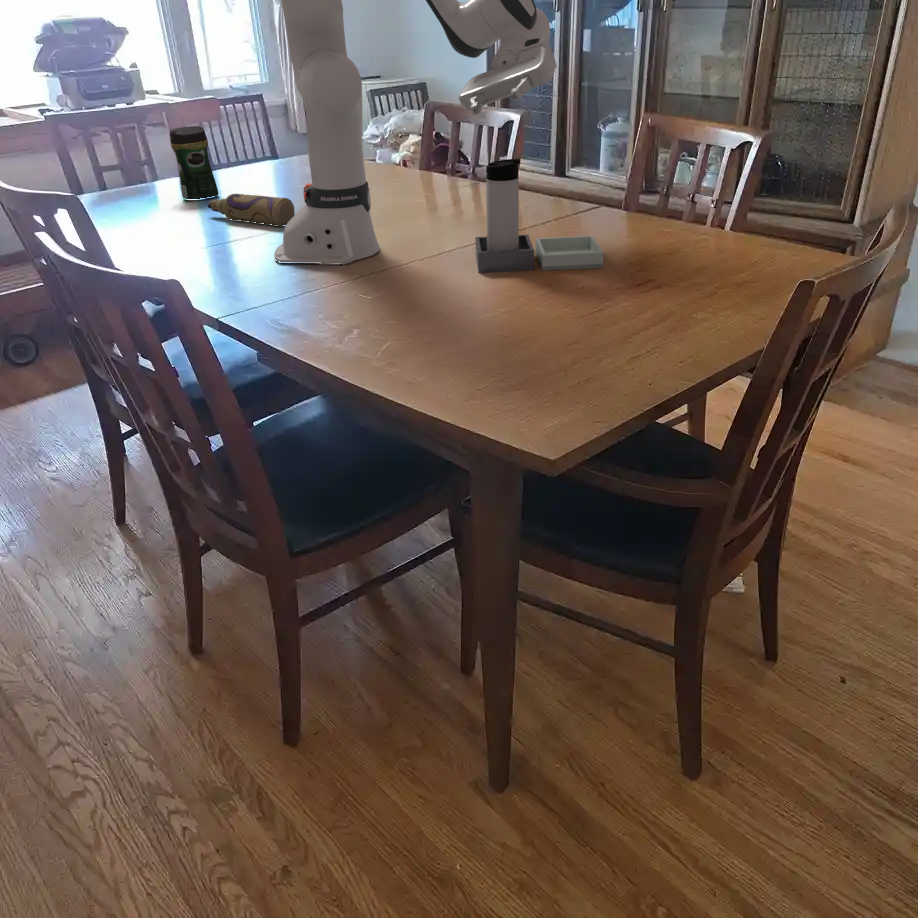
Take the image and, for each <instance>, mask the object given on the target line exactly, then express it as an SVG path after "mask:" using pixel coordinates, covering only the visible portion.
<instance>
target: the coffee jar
mask: <svg viewBox="0 0 918 918" xmlns="http://www.w3.org/2000/svg"><path fill="white" fill-rule="evenodd" d="M169 137H170V138H169V139H170V147H171V148H172V150H173V152H174V155H175V157H176V161H177V167H178V175H179V182H180V191H181V196H182V198H183V199H184V198H185V199H200V198H207V197H212V196H216V197H218V196H219V194H220V193H219V190H218V186H217V182H216V178H215V175H214V173H213V170H212V166H211V163H210V159H209V153H208V146H209V140H208V137H207V134H206V132H205V130H204V127H202V126H200V125H190V126H182V127H181V126H180V127H177V128H172V129H169ZM217 195H218V196H217ZM185 199H184V200H185Z"/></svg>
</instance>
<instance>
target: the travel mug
mask: <svg viewBox="0 0 918 918" xmlns="http://www.w3.org/2000/svg"><path fill="white" fill-rule="evenodd" d="M521 162H522V161H521V159H520V158H507V159H501V160H500V159H499V160H495V161H492V162H489V163H488V164H487V165H486V166H485V173H486V175H485V177H486V178H485V181H486V182H485V189H486V190H485V191H486V192H485V193H486V194H485V195H486V196H485V197H486V200H485V202H486V235H487V236H486V237H487V251H504V250H519V235H520V234H519V233H520V229H519V228H520V227H519V224H520V223H519V221H520V220H519V217H520V215H519V214H520V211H519V207H520V206H519V203H520V202H519V201H520V199H519V197H520V195H519V193H520V192H519V190H520V188H519V186H520V184H519V183H520V181H519V179H520V177H519V165H520V164H521Z"/></svg>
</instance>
